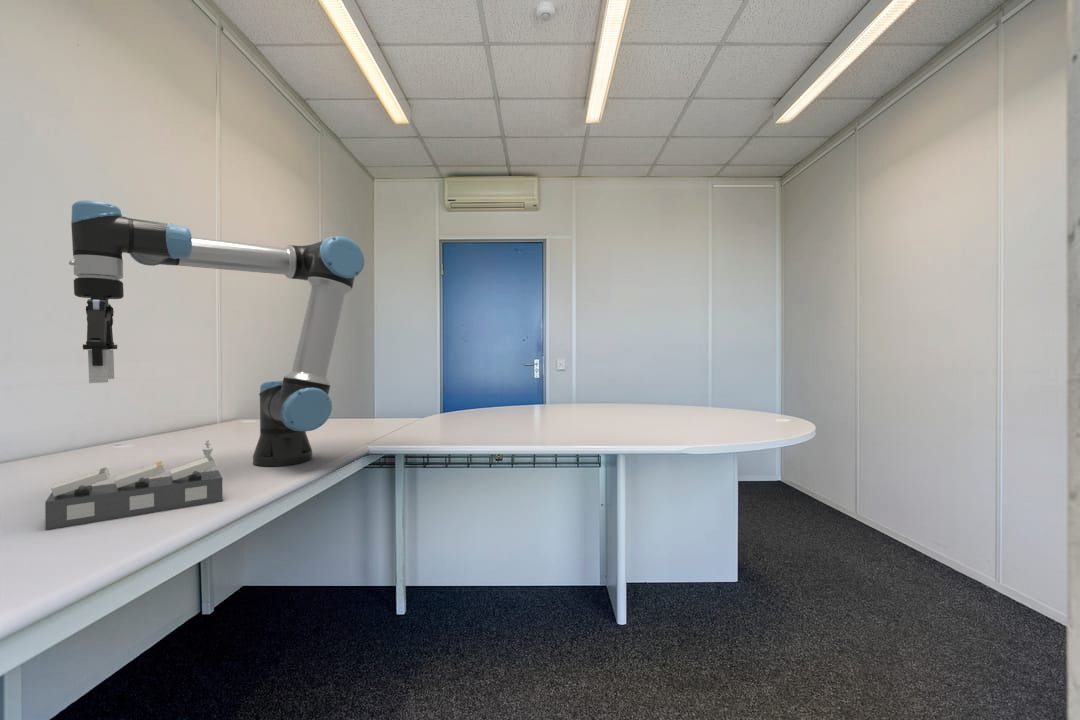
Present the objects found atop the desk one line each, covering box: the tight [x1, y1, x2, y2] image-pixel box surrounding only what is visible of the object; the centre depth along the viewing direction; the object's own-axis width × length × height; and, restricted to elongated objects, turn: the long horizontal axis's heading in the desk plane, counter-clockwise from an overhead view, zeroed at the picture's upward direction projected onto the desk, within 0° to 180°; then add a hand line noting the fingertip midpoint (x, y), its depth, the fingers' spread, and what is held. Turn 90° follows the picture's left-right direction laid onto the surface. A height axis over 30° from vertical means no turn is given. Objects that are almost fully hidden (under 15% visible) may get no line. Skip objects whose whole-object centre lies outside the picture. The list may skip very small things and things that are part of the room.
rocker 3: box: [169, 455, 217, 481], centre depth 100 cm, size 8×4×2 cm, turn 129°
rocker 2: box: [114, 461, 166, 488], centre depth 94 cm, size 8×4×2 cm, turn 129°
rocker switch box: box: [44, 469, 223, 531], centre depth 94 cm, size 26×8×6 cm, turn 130°
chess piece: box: [202, 439, 213, 472], centre depth 114 cm, size 5×5×10 cm
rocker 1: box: [50, 467, 111, 496], centre depth 89 cm, size 8×4×2 cm, turn 129°
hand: (102, 380), depth 98 cm, fingers open, 13 cm apart
